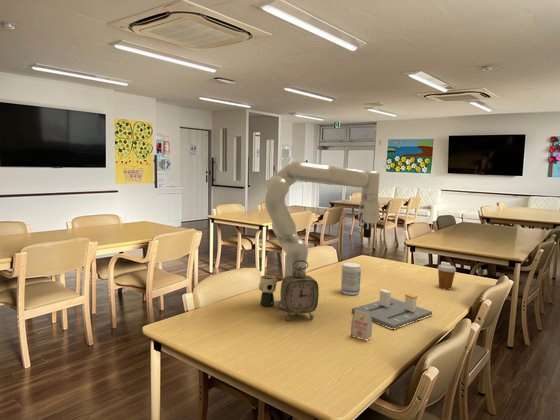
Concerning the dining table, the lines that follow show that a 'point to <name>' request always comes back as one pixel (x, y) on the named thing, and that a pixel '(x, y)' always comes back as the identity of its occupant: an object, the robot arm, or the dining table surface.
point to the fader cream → (384, 298)
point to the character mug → (267, 289)
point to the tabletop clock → (299, 293)
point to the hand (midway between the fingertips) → (366, 237)
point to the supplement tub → (350, 278)
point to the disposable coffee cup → (446, 275)
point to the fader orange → (410, 302)
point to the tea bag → (361, 325)
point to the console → (392, 313)
